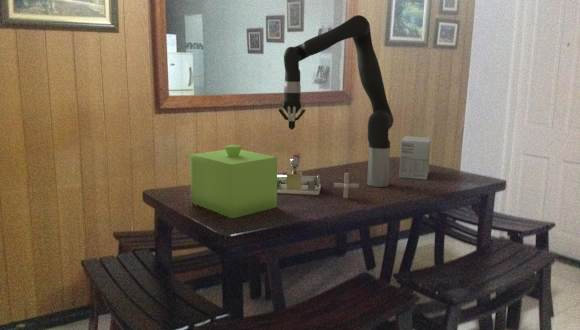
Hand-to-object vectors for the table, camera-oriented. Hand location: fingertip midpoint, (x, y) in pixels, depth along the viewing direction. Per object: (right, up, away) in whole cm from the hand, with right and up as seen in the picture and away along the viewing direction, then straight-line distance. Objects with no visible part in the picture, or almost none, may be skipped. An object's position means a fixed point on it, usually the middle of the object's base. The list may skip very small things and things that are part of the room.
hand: (291, 129), depth 235 cm
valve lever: (+2, -16, -15) cm, 22 cm away
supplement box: (+60, -22, +14) cm, 66 cm away
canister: (-22, -32, -43) cm, 58 cm away
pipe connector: (+22, -30, -29) cm, 47 cm away
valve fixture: (+1, -27, -19) cm, 33 cm away
